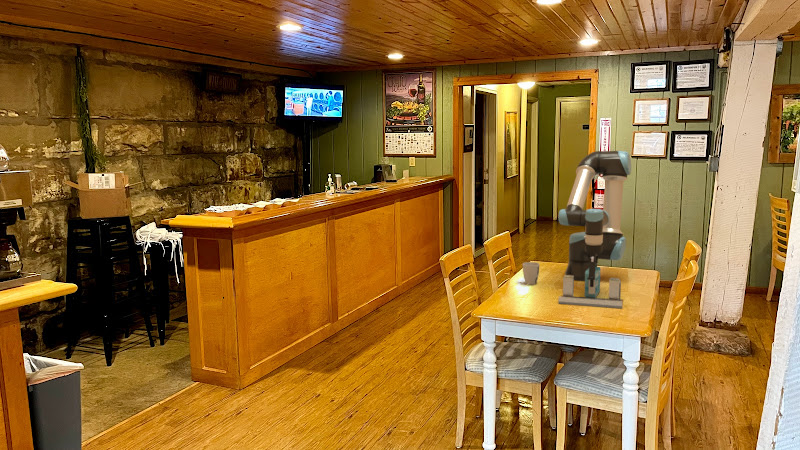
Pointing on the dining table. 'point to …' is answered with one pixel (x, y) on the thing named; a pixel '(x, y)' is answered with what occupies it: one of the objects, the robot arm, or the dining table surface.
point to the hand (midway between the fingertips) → (592, 289)
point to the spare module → (619, 290)
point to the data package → (597, 283)
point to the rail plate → (586, 301)
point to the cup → (531, 272)
